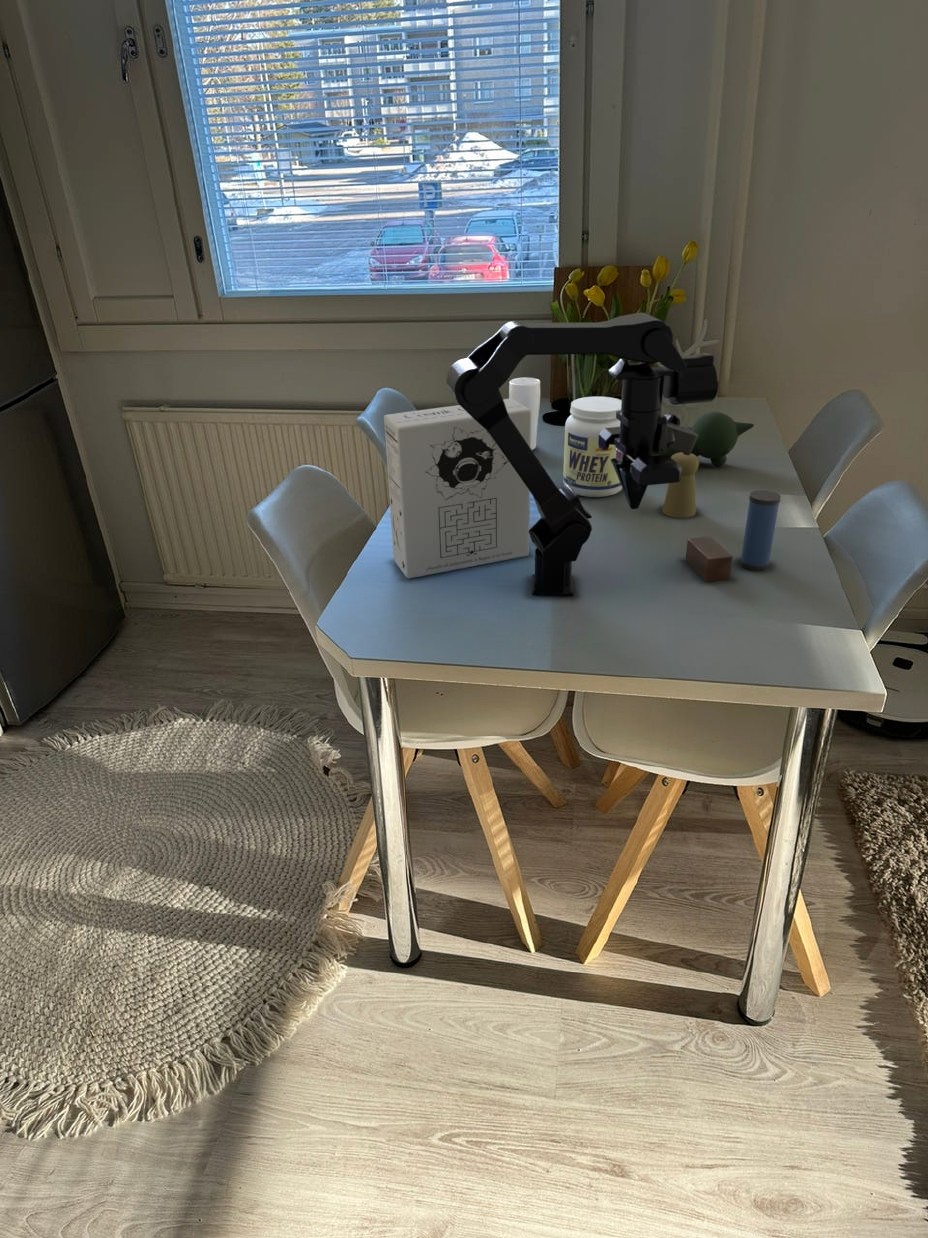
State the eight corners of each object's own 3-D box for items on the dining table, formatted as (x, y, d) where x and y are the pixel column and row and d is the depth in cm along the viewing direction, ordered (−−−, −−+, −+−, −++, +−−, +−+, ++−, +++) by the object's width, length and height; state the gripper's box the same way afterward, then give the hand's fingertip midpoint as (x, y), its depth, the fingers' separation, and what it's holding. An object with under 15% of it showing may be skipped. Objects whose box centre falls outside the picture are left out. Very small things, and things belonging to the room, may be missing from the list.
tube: (717, 541, 136) (774, 486, 134) (704, 529, 140) (760, 476, 138) (759, 583, 142) (815, 531, 139) (745, 570, 146) (800, 520, 143)
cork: (658, 514, 161) (663, 457, 156) (667, 503, 166) (673, 447, 161) (690, 519, 159) (697, 461, 153) (699, 508, 164) (706, 451, 158)
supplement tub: (556, 495, 171) (559, 410, 162) (570, 474, 181) (573, 392, 172) (618, 502, 167) (624, 414, 159) (629, 480, 177) (635, 397, 169)
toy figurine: (628, 476, 184) (753, 471, 178) (626, 386, 175) (758, 378, 169) (630, 461, 192) (750, 456, 186) (628, 374, 183) (754, 366, 177)
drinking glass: (503, 446, 197) (503, 379, 190) (530, 441, 200) (531, 375, 192) (517, 455, 192) (518, 386, 184) (544, 450, 194) (546, 382, 187)
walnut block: (705, 582, 138) (708, 559, 136) (685, 560, 144) (687, 538, 142) (729, 579, 138) (732, 556, 136) (707, 558, 145) (710, 535, 143)
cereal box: (511, 539, 153) (512, 397, 141) (529, 556, 147) (531, 409, 135) (393, 560, 147) (383, 414, 134) (407, 579, 141) (397, 427, 128)
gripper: (722, 420, 119) (710, 526, 127) (668, 386, 135) (660, 482, 143) (644, 427, 117) (636, 534, 125) (599, 391, 133) (594, 488, 141)
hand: (633, 508), depth 133 cm, fingers closed
